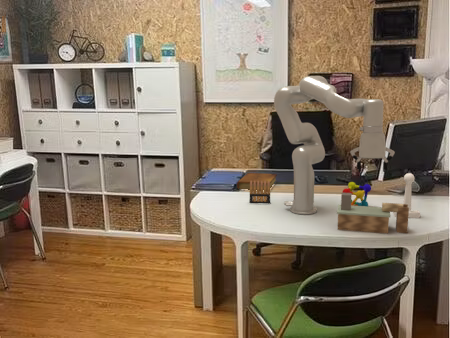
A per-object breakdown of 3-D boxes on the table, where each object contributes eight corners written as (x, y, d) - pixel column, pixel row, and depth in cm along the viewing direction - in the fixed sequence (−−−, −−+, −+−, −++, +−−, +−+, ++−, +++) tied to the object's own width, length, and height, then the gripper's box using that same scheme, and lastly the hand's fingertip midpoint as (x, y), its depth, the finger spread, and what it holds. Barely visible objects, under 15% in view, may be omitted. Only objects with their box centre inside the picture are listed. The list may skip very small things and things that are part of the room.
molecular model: (348, 213, 212) (334, 185, 217) (351, 216, 223) (337, 189, 228) (378, 199, 209) (363, 171, 214) (379, 203, 220) (365, 176, 225)
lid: (336, 213, 188) (337, 196, 186) (338, 206, 198) (338, 190, 197) (390, 217, 182) (391, 200, 181) (388, 209, 192) (389, 193, 191)
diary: (246, 181, 279) (246, 172, 278) (276, 183, 274) (276, 174, 273) (237, 190, 257) (237, 180, 256) (269, 192, 252) (269, 182, 251)
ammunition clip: (270, 203, 230) (270, 180, 228) (270, 204, 229) (270, 180, 226) (249, 202, 232) (249, 180, 229) (249, 203, 230) (249, 180, 227)
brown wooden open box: (337, 229, 190) (338, 205, 188) (338, 222, 199) (339, 198, 197) (407, 234, 182) (409, 209, 180) (405, 226, 191) (407, 202, 189)
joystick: (394, 217, 204) (397, 174, 200) (391, 212, 211) (393, 170, 207) (420, 218, 202) (423, 174, 198) (416, 213, 210) (419, 171, 206)
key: (382, 211, 187) (382, 204, 186) (381, 209, 189) (382, 202, 188) (402, 212, 184) (403, 205, 184) (402, 210, 187) (402, 203, 186)
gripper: (350, 131, 182) (349, 172, 186) (396, 131, 177) (394, 173, 181) (351, 129, 189) (350, 169, 193) (394, 128, 184) (393, 170, 188)
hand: (371, 171), depth 187 cm, fingers open, 9 cm apart
